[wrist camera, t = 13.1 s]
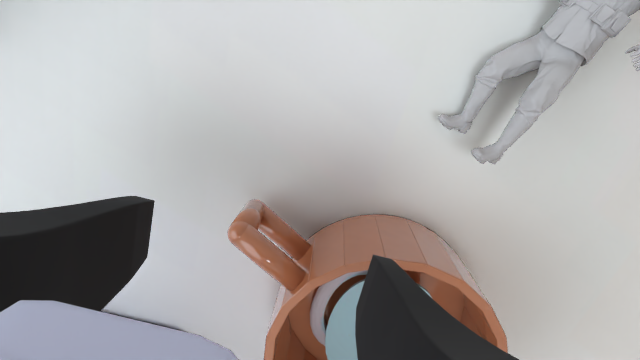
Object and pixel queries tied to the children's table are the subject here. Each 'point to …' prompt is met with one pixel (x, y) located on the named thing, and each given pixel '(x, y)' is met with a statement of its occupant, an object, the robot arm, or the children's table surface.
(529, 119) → the soldier figure
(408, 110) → the children's table surface
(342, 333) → the pacifier
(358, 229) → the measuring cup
